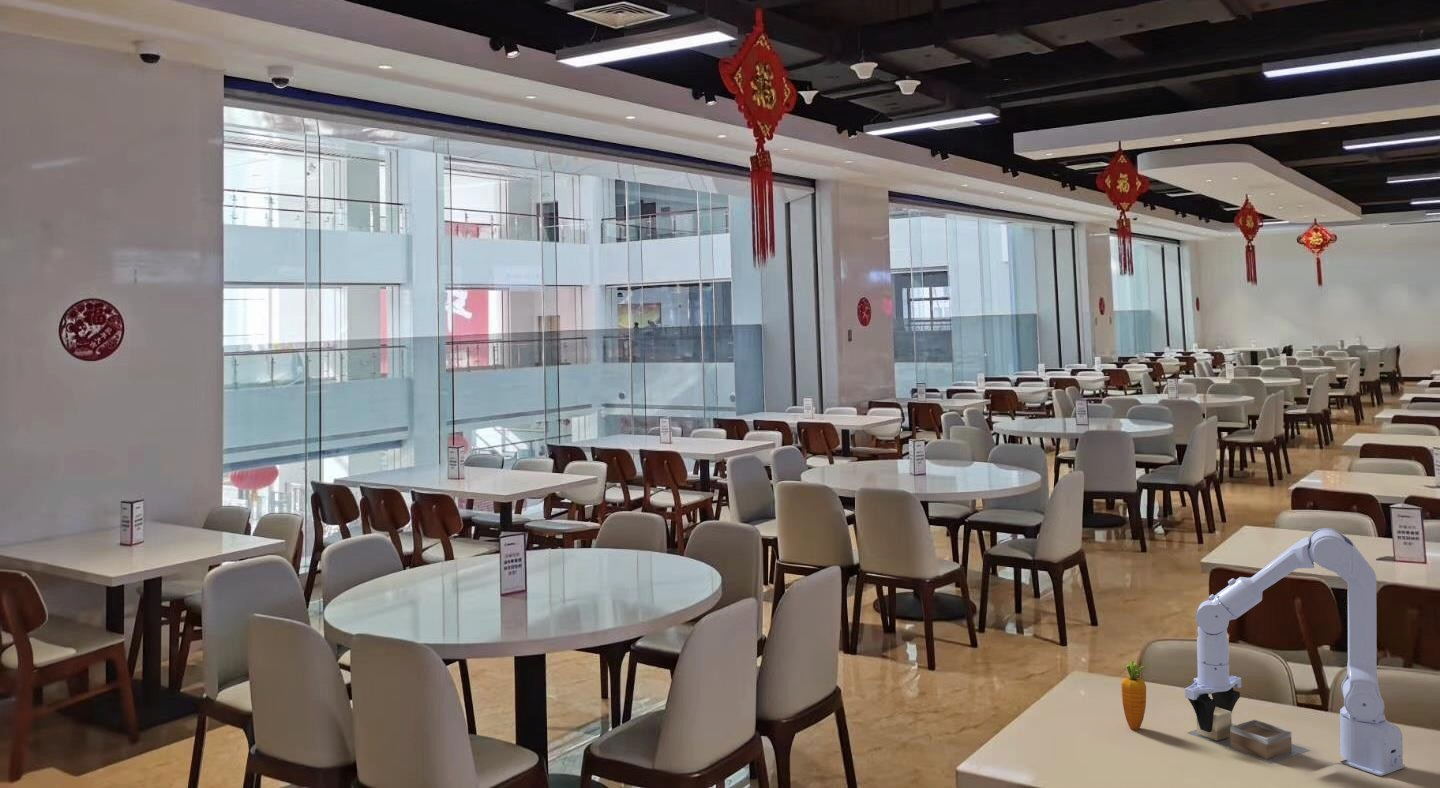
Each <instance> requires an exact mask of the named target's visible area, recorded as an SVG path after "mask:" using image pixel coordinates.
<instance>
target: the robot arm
mask: <svg viewBox="0 0 1440 788" xmlns="http://www.w3.org/2000/svg"><path fill="white" fill-rule="evenodd" d="M1314 563H1315V564H1317V566H1320V567H1321V568H1324V569H1326V570H1328V571H1331V572H1333V573H1335V574H1336V575H1337V576H1338V577H1340V578H1341V579H1342V580H1344V581H1345V582H1346V583H1347V665H1346V666H1347V667H1346V676H1345V678H1344V679H1343V681H1341V682H1342V683H1341V686H1340V687H1341V688H1340V689H1341V693H1342V696H1343V706H1342V707H1341V708H1340V709H1339V739H1340V740H1339V742H1340V743H1339V745H1340V753H1339V754H1340V756H1341V757H1342V758H1343V760H1341V761H1340V763H1341V764H1345V765H1347V766H1350V767H1353V768H1356V769H1358V770H1362V771H1365V772H1367V773H1370V774H1373V775H1376V776H1379V777H1380V776H1385V775H1388V774H1391V773H1393V772H1396V771H1399V770H1401V769H1404V768H1405V767H1406V765H1405V764H1404V763H1403V761H1404V759H1403V754H1404V753H1403V752H1404V751H1403V747H1404V746H1403V733H1402V730H1401V728H1400V726H1398V725H1396V724H1393V723H1391V722H1390V721H1388V720H1387V719H1386V715H1385V712H1384V711H1385V701H1384V700H1383V698H1382V695H1381V689H1380V687H1379V679H1378V669H1377V666H1378V665H1377V662H1378V660H1377V658H1378V656H1377V653H1378V651H1377V650H1378V649H1377V646H1378V645H1377V640H1378V639H1377V638H1378V637H1377V632H1378V630H1377V625H1378V624H1377V622H1378V621H1377V611H1378V609H1377V574H1376V572H1375V570H1374V569H1373V567H1372V566H1371V564H1370V563H1369V562H1368V560H1367V559H1366V558H1365V557H1364V555H1363V554H1362V553H1361V551H1360V550H1359V549H1358V548H1357V547H1356V545H1355V544H1354V542H1353V541H1352V540H1351V539H1350V538H1349V537H1347V536H1346V535H1344V534H1343V533H1342V532H1340V531H1338V530H1337V529H1334V528H1330V527H1323V528H1319V529H1316V530H1315V531H1313V532H1312V534H1311V535H1310V537H1309V536H1305V537H1303V538H1301V539H1300V540H1298V541H1296V542H1295V543H1294V544H1293V545H1292V544H1291V546H1289V547H1288V548H1286V550H1284V551H1283V552H1281V553H1280V554H1279V555H1278V556H1276V557H1275V558H1274V559H1273V560H1271V562H1269V563H1268V564H1267V565H1265V566H1264V567H1263V568H1261V569H1260V570H1259V571H1257V573H1255V574H1254V575H1252V576H1251V577H1244V576H1239V577H1238V578H1237V579H1235V578H1231V579H1229V580H1228V581H1227V583H1228V585H1227V586H1226V587H1225V588H1223V589H1221V590H1220V591H1219V592H1216V594H1215V595H1214V594H1213V593H1212V594H1210V595H1209V596H1208V600H1204V601H1203V602H1201V603H1200V605H1199V606H1198V608H1197V611H1196V614H1195V615H1196V616H1195V621H1196V624H1197V630H1196V631H1197V635H1198V636H1196V637H1197V638H1196V651H1197V652H1196V654H1197V655H1196V657H1197V659H1196V660H1197V662H1196V663H1197V677H1194V678H1193V683H1192V684H1191V685H1189V686H1187V687H1185V688H1184V697H1185V698H1186V699H1188V701H1189V703H1190V705H1191V706H1192V708H1193V710H1194V714H1195V716H1196V720H1197V719H1198V722H1199V726H1200V729H1201V730H1204V731H1206V732H1211V731H1212V726H1213V715H1214V710H1215V707H1219V708H1222V709H1225V710H1228V711H1231V715H1232V713H1233V710H1234V707H1235V705H1236V703H1237V702H1238V701H1239V699H1240V698H1241V693H1240V691H1237V690H1234V688H1237V689H1241V688H1242V677H1240V676H1239V677H1238V676H1235V675H1230V650H1229V649H1230V646H1229V645H1230V644H1229V641H1230V640H1229V638H1228V627H1229V624H1230V621H1232V620H1237V619H1238V618H1240V617H1241V616H1243V615H1244V614H1245V613H1247V612H1248V611H1249V610H1251V609H1252V608H1254V607H1255V606H1256V605H1258V604H1259V603H1260V602H1262V600H1263V592H1264V591H1265V590H1267V589H1268V588H1269V587H1270V588H1271V586H1273V585H1274V584H1276V583H1277V582H1278V581H1281V579H1283V578H1285V577H1287V576H1288V575H1289V574H1291V573H1292V572H1294V571H1295V570H1298V569H1315V565H1314ZM1210 695H1211V696H1210Z"/></svg>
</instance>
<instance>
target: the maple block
mask: <svg viewBox="0 0 1440 788" xmlns="http://www.w3.org/2000/svg"><path fill="white" fill-rule="evenodd" d="M1232 719H1233V718H1232V714H1231V711H1228V710H1225V709H1222V708H1219V707H1215V710H1214V715H1213V726H1212V731H1211V732H1206V731H1204V730H1201V729H1200V726H1199V722H1198V719H1197V718H1196V730H1197V734H1199V735H1202V736H1205V737H1208V738H1211V739H1213V740H1216V741H1218V740H1221V739H1225V738H1228V737H1230V727H1231V726H1232V724H1233V723H1232Z"/></svg>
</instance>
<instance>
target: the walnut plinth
mask: <svg viewBox="0 0 1440 788" xmlns="http://www.w3.org/2000/svg"><path fill="white" fill-rule="evenodd" d="M1230 739H1231V747H1232V748H1235V749H1238V750H1240V751H1243V752H1246V753H1249V754H1251V755H1254V756H1257V757H1260V758H1262V759H1265V760H1269V759H1272V758H1275V757H1278V756H1281V755H1284V754H1287V753H1290V752H1292V744H1293V743H1292V731H1291V730H1289V729H1285V728H1282V727H1279V726H1275V725H1273V724H1271V723H1270V724H1269V723H1266V722H1263V721H1261V720H1257V719H1252V720H1249V721H1246V722H1245V721H1244V722H1242V723H1239V724H1235V726H1231V727H1230Z"/></svg>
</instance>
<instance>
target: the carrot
mask: <svg viewBox="0 0 1440 788" xmlns="http://www.w3.org/2000/svg"><path fill="white" fill-rule="evenodd" d="M1137 667H1138V664H1137V663H1135V661H1129V664H1128V663H1127V664H1126V669H1127V672H1128V675H1129V677H1126V678H1123V679H1122V680H1121V683H1120V688H1121V703H1122V707H1123V713H1124V715H1125V716H1124V717H1125V720H1126V722H1127V725H1128V727H1129V729H1130V730H1132V731H1138V730H1140V728H1141V727H1142V723H1143V721H1144V719H1145V713H1146V707H1147V705H1146V704H1147V685H1146V683H1145V681H1144V680H1143V679H1142V678H1139V675H1140V672H1141V671H1143V670H1144V669H1146V667H1145V666H1144V665H1141V666H1139V667H1138V669H1137Z"/></svg>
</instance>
